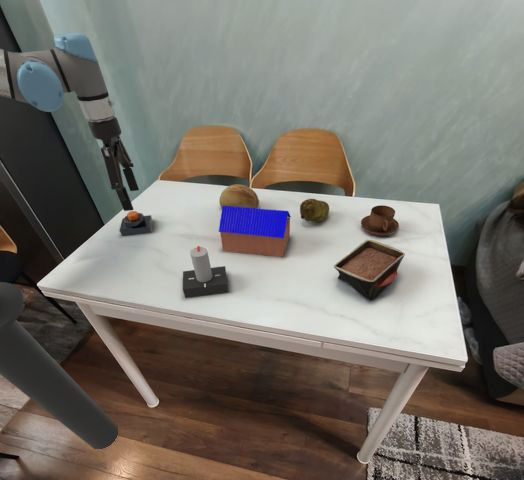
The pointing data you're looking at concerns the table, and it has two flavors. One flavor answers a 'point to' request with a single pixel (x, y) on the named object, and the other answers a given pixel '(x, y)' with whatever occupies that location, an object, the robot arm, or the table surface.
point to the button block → (136, 225)
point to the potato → (314, 210)
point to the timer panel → (205, 283)
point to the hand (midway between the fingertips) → (131, 199)
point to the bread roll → (239, 197)
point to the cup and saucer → (380, 221)
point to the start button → (133, 215)
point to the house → (254, 230)
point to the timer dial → (201, 264)
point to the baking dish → (370, 268)
